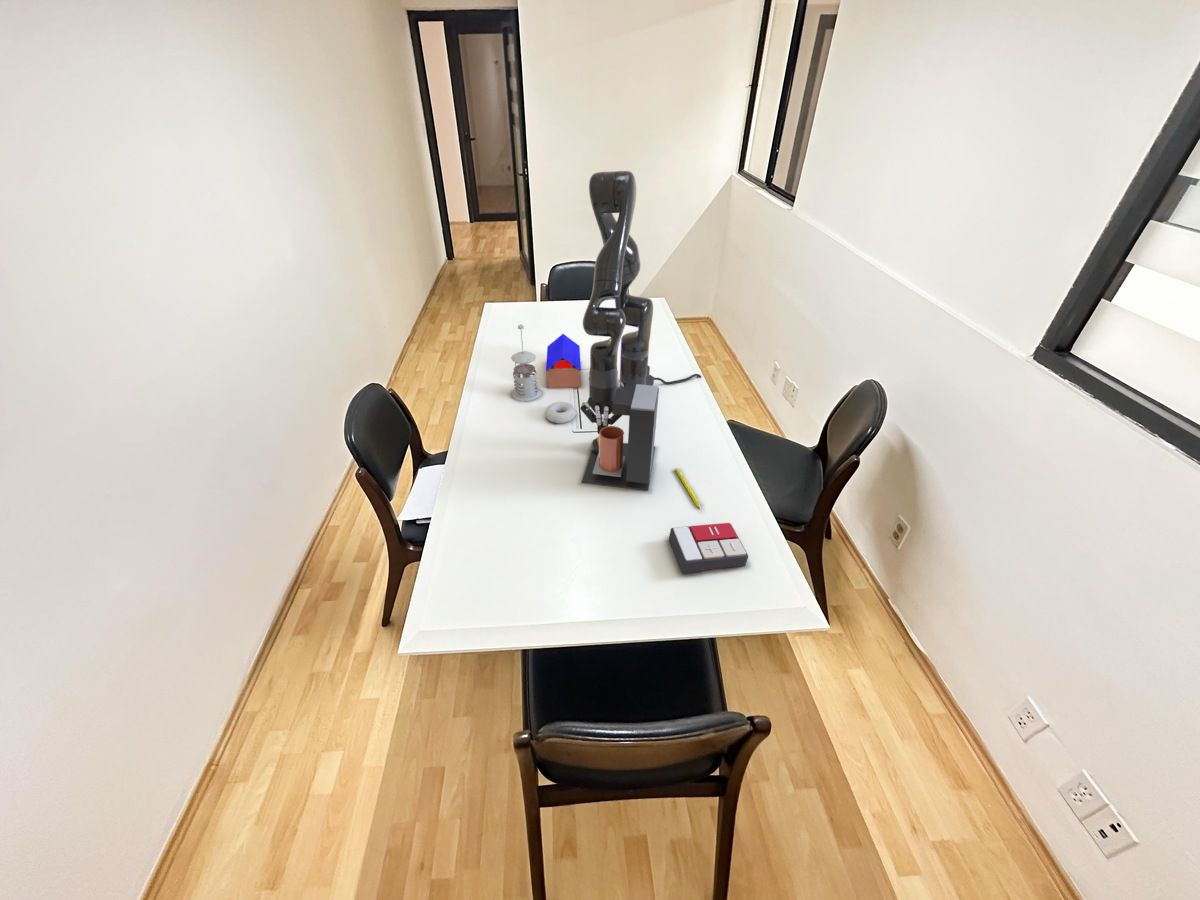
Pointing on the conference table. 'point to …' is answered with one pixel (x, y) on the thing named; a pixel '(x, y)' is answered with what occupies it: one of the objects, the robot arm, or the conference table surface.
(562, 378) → the house
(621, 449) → the tumbler
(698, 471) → the conference table surface
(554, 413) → the donut
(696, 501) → the pencil
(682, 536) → the calculator
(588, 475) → the coffee maker base
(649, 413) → the coffee maker
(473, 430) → the conference table surface
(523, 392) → the french press
